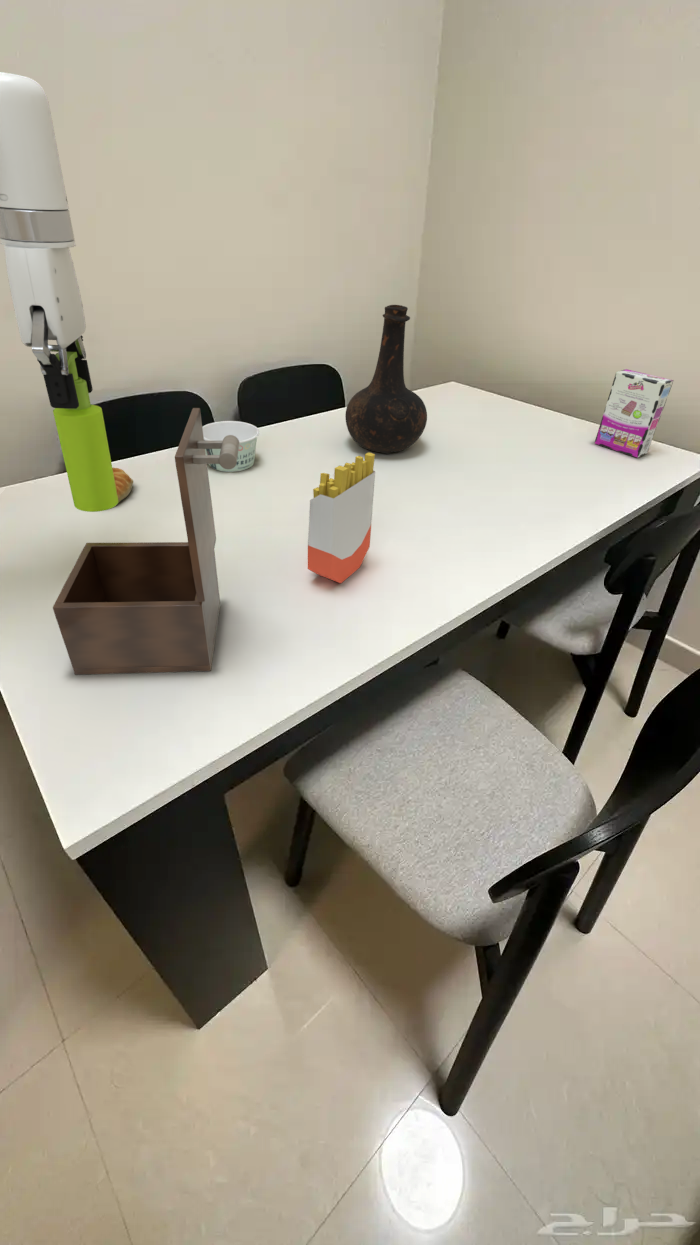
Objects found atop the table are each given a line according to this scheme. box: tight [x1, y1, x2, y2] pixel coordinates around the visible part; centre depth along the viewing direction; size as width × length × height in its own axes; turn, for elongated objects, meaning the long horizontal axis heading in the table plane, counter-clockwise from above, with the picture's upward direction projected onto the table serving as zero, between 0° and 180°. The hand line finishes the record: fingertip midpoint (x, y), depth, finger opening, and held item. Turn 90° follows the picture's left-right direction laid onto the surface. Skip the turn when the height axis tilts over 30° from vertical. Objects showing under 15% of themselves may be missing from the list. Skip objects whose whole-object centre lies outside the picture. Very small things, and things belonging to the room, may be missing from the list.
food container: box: [202, 420, 260, 473], centre depth 117 cm, size 12×12×6 cm
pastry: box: [112, 467, 134, 504], centre depth 104 cm, size 9×7×4 cm
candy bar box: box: [594, 368, 675, 459], centre depth 131 cm, size 11×5×16 cm, turn 42°
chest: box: [52, 541, 221, 675], centre depth 72 cm, size 16×14×10 cm
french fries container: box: [307, 451, 376, 584], centre depth 83 cm, size 5×11×18 cm, turn 148°
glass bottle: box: [345, 304, 428, 454], centre depth 122 cm, size 18×18×28 cm
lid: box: [174, 407, 239, 602], centre depth 64 cm, size 17×14×5 cm
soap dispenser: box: [52, 352, 119, 513], centre depth 77 cm, size 6×7×20 cm
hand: (72, 398), depth 74 cm, fingers closed on soap dispenser, 5 cm apart
